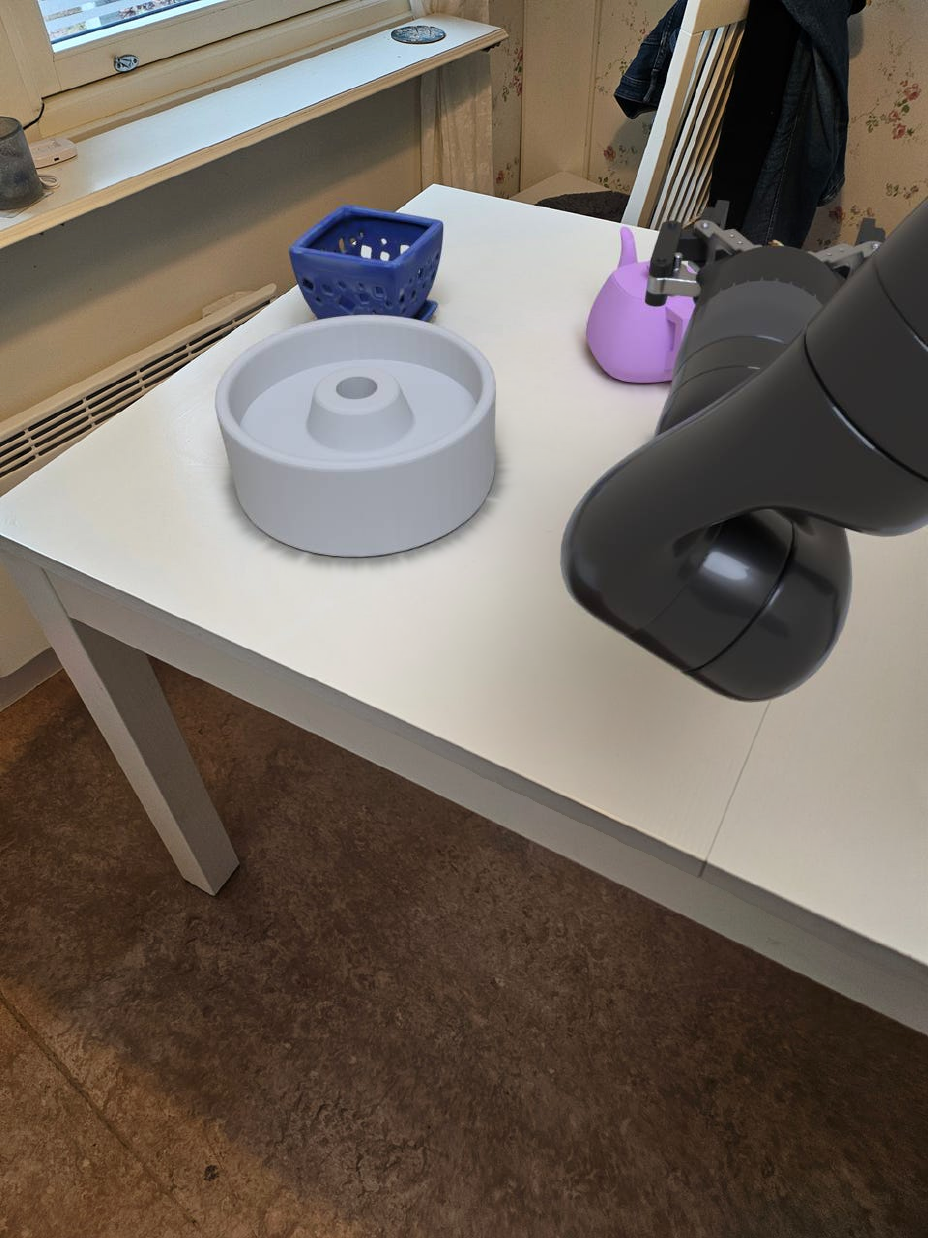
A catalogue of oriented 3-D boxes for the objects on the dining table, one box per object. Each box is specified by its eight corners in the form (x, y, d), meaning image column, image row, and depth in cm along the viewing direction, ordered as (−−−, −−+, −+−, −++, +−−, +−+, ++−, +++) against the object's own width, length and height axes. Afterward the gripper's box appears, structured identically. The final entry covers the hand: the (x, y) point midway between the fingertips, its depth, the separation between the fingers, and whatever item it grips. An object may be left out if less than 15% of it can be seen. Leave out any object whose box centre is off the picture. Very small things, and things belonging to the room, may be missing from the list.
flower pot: (351, 297, 109) (340, 199, 100) (449, 316, 106) (446, 216, 97) (300, 349, 101) (283, 247, 92) (404, 371, 97) (397, 266, 89)
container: (247, 407, 93) (228, 320, 85) (480, 393, 94) (480, 306, 87) (224, 568, 76) (197, 476, 68) (509, 549, 77) (512, 456, 70)
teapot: (662, 306, 107) (677, 214, 98) (737, 393, 93) (762, 295, 85) (559, 321, 104) (565, 228, 96) (621, 412, 91) (635, 313, 83)
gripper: (940, 306, 39) (938, 172, 49) (624, 262, 42) (685, 146, 52) (883, 446, 44) (892, 299, 54) (609, 397, 48) (666, 268, 58)
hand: (790, 224), depth 53 cm, fingers open, 8 cm apart
